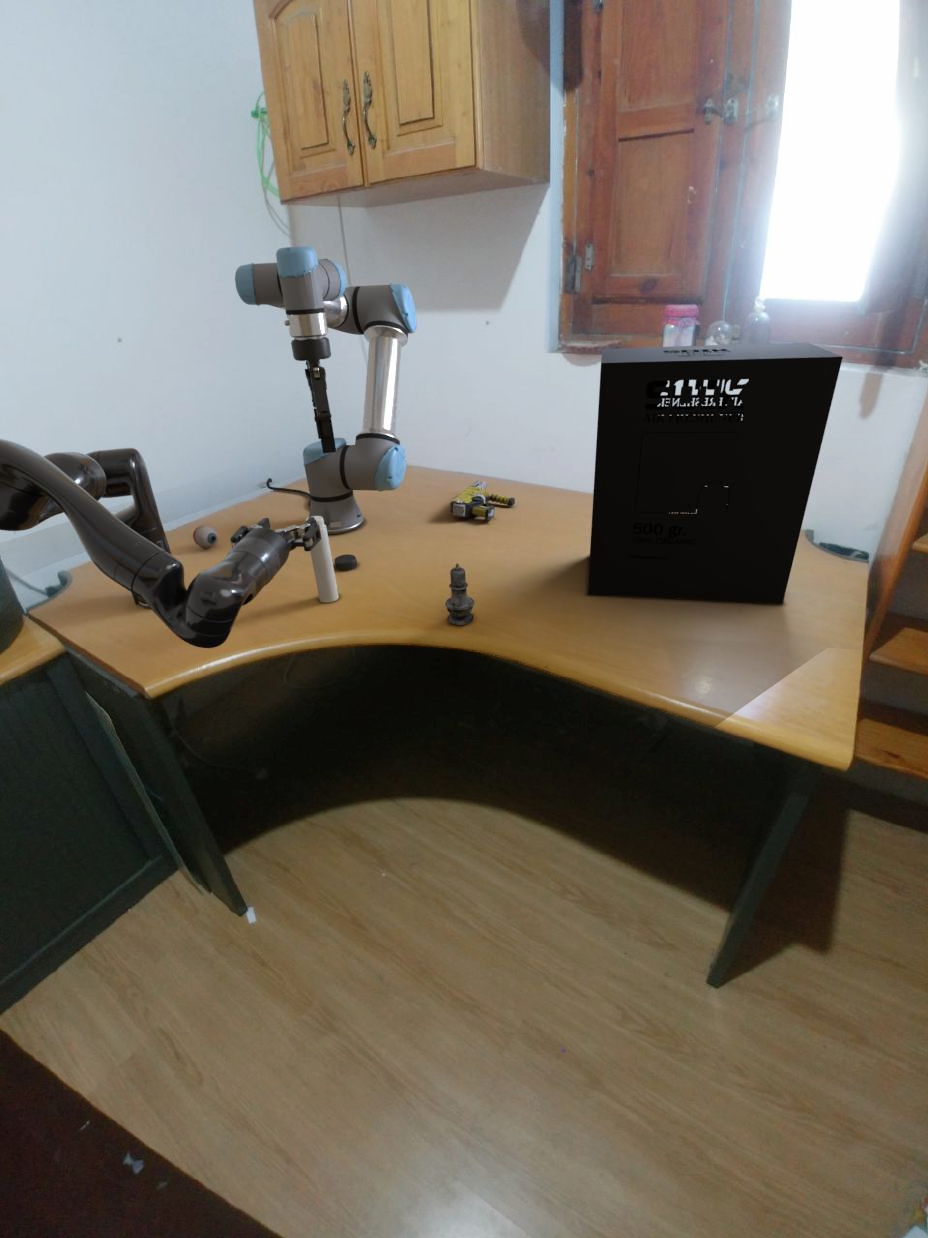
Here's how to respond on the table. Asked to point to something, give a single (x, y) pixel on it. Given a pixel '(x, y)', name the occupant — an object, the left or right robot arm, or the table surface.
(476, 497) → the toy gun
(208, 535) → the eyeball
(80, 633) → the table surface
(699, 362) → the cardboard box
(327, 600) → the white cylinder
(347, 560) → the lid
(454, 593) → the dark grey chess piece
